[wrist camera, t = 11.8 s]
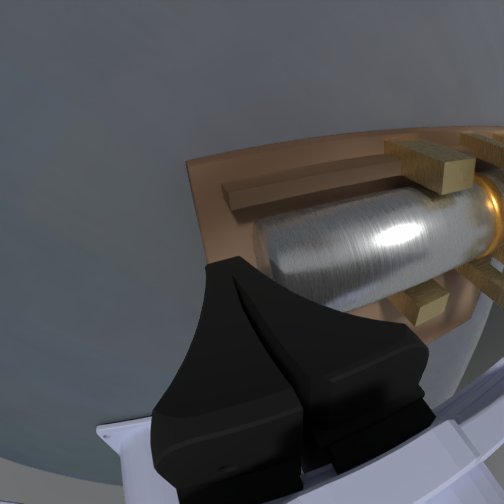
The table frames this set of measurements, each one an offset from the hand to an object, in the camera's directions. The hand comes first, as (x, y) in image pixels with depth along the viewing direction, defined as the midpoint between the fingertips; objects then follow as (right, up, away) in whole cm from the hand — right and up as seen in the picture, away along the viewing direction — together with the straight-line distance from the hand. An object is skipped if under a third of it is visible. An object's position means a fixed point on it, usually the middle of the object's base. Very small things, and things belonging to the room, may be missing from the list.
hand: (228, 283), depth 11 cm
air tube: (+9, +2, +1) cm, 9 cm away
